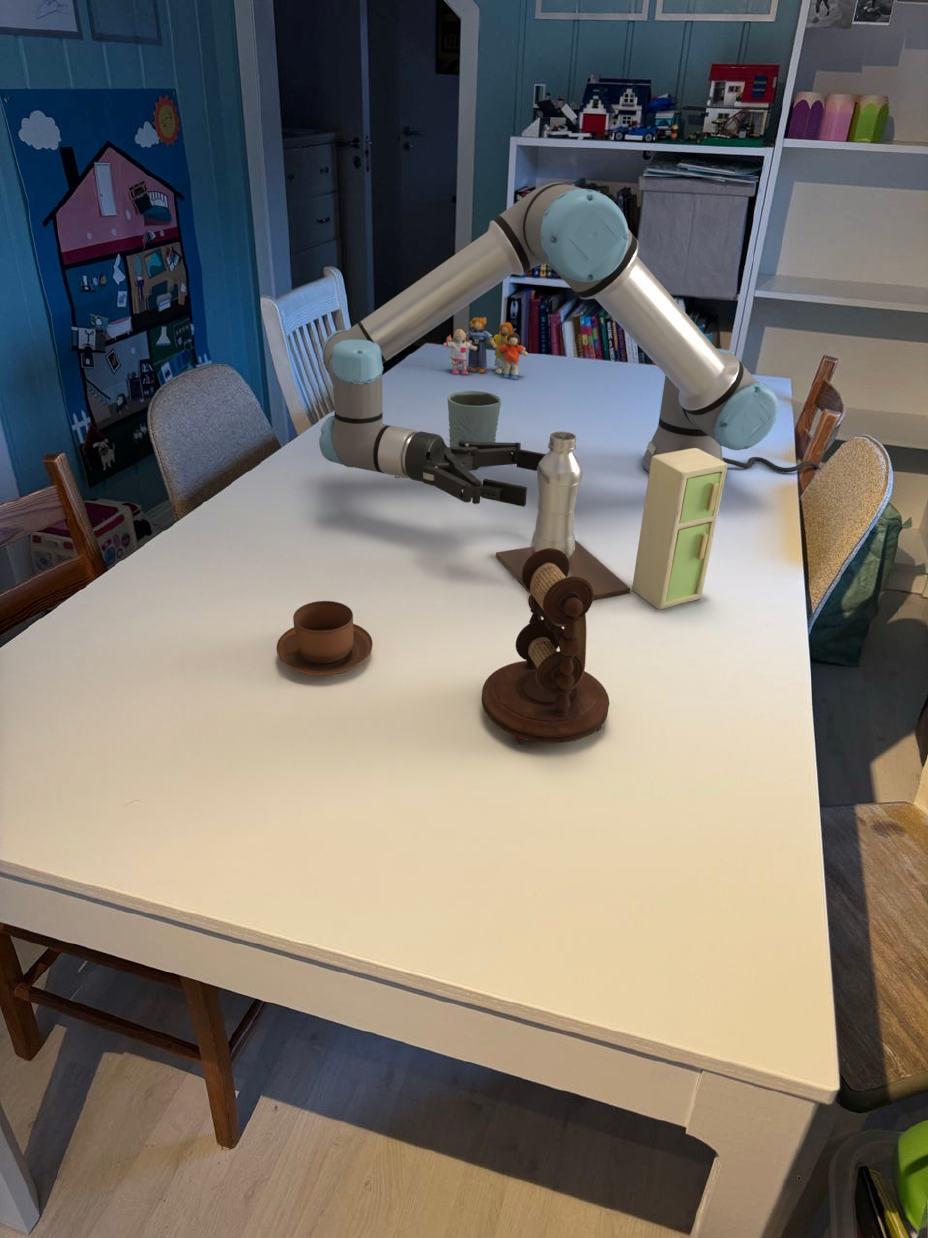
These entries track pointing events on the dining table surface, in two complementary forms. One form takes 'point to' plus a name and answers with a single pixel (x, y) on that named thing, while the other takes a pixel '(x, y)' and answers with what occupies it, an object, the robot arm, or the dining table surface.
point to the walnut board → (571, 570)
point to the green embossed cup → (473, 416)
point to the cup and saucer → (324, 640)
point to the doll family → (502, 343)
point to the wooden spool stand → (549, 661)
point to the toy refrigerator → (678, 526)
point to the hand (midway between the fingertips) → (542, 480)
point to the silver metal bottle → (557, 495)
